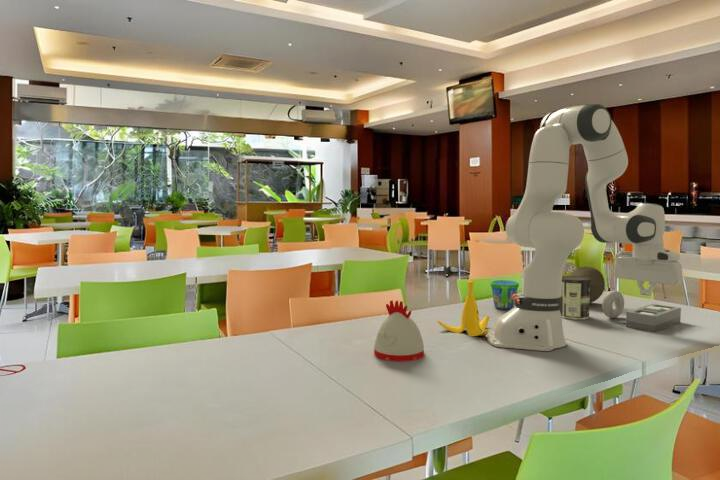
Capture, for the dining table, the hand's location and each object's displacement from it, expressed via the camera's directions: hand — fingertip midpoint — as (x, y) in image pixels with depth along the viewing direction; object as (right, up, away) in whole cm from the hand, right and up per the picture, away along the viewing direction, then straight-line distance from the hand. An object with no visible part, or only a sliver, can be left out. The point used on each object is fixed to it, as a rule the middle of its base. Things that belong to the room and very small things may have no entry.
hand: (645, 295), depth 171 cm
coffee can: (-16, -10, +17) cm, 26 cm away
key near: (0, -8, +1) cm, 8 cm away
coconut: (-3, -8, +39) cm, 39 cm away
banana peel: (-60, -12, -2) cm, 61 cm away
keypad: (+5, -10, +5) cm, 13 cm away
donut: (-4, -10, +14) cm, 18 cm away
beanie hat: (-83, -14, -25) cm, 88 cm away
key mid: (+5, -7, +5) cm, 10 cm away
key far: (+10, -8, +9) cm, 15 cm away
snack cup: (-37, -9, +33) cm, 50 cm away
